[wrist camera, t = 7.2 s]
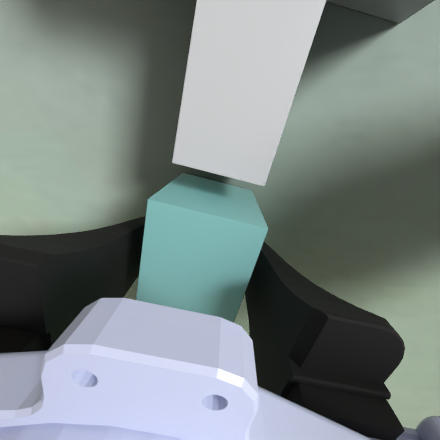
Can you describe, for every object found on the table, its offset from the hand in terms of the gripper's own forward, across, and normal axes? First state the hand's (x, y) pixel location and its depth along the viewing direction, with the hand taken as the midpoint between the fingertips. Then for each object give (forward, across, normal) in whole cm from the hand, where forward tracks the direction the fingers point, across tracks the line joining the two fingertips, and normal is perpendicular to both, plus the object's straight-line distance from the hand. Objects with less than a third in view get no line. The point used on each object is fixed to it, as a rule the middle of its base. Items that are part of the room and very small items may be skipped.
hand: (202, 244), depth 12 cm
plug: (+1, 0, -5) cm, 5 cm away
